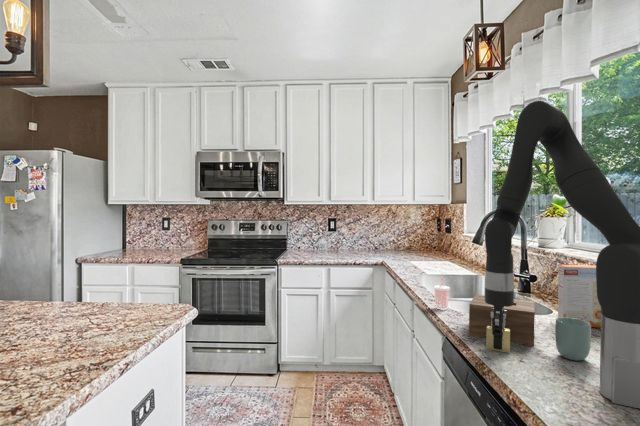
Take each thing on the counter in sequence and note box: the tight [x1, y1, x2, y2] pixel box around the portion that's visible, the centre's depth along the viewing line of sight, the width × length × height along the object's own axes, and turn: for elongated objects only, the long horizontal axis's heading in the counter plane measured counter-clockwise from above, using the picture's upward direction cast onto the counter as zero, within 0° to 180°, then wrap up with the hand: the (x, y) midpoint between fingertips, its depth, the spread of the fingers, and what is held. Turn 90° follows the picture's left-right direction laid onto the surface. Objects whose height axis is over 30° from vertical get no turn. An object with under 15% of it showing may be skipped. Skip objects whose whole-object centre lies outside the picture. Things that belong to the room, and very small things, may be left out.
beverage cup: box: [433, 273, 451, 310], centre depth 148 cm, size 6×6×14 cm
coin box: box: [468, 294, 536, 347], centre depth 120 cm, size 15×18×10 cm
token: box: [485, 326, 511, 354], centre depth 106 cm, size 2×6×6 cm, turn 60°
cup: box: [554, 317, 592, 362], centre depth 100 cm, size 8×8×10 cm
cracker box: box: [557, 264, 601, 329], centre depth 129 cm, size 14×6×21 cm, turn 76°
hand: (498, 347), depth 106 cm, fingers closed on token, 2 cm apart
